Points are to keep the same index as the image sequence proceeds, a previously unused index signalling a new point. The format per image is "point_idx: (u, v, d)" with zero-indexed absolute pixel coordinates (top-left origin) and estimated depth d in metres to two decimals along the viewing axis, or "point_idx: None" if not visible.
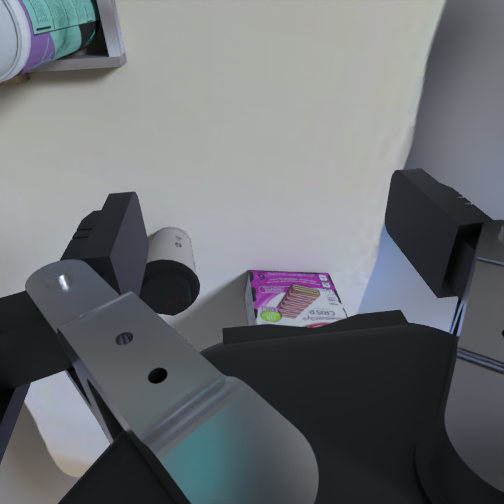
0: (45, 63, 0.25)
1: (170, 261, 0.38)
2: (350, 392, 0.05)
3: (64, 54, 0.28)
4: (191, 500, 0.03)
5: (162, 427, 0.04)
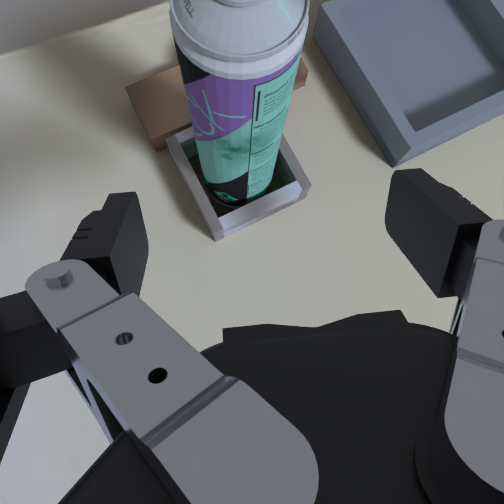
0: (204, 130, 0.20)
1: None
2: (350, 392, 0.05)
3: (213, 160, 0.23)
4: (191, 500, 0.03)
5: (162, 428, 0.04)
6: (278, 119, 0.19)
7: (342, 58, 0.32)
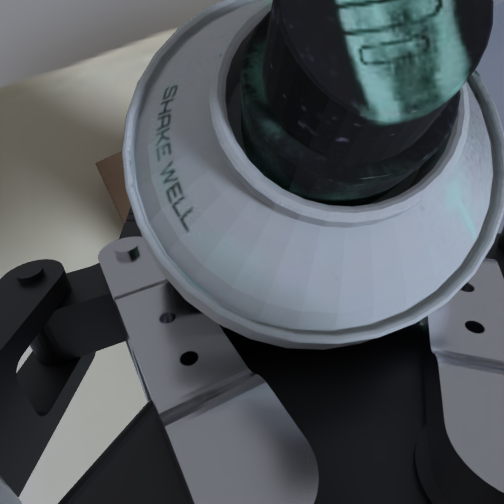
0: None
1: None
2: (350, 392, 0.05)
3: None
4: (191, 500, 0.03)
5: (180, 408, 0.04)
6: None
7: None
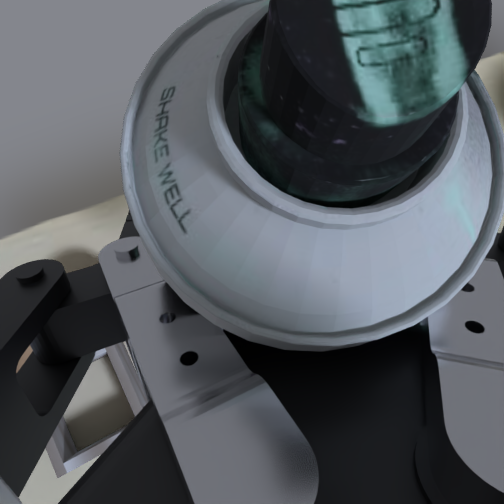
0: None
1: None
2: (350, 392, 0.05)
3: None
4: (191, 500, 0.03)
5: (180, 408, 0.04)
6: None
7: None
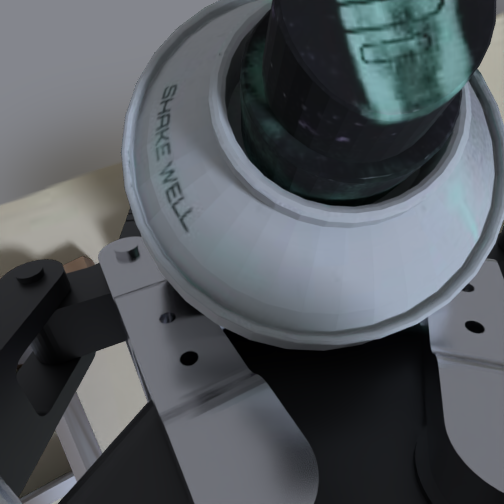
0: None
1: None
2: (350, 392, 0.05)
3: None
4: (191, 500, 0.03)
5: (180, 408, 0.04)
6: None
7: None
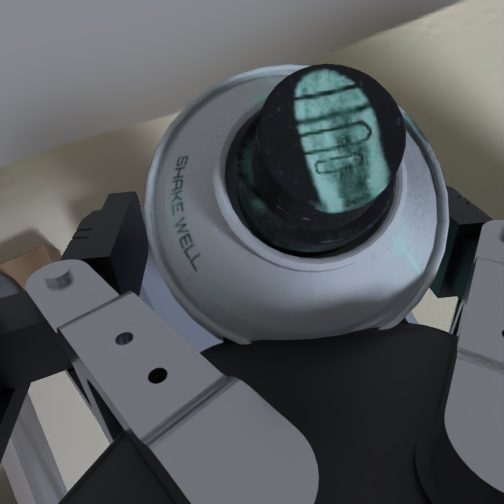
0: None
1: None
2: (350, 392, 0.05)
3: None
4: (191, 500, 0.03)
5: (162, 427, 0.04)
6: None
7: None
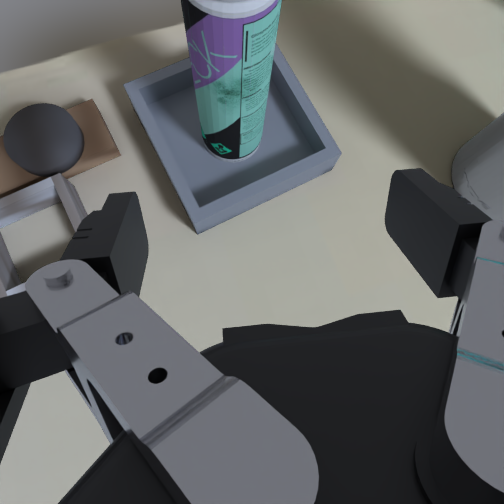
0: (202, 74, 0.24)
1: None
2: (350, 392, 0.05)
3: (210, 106, 0.27)
4: (191, 500, 0.03)
5: (162, 427, 0.04)
6: (264, 63, 0.23)
7: (147, 133, 0.34)
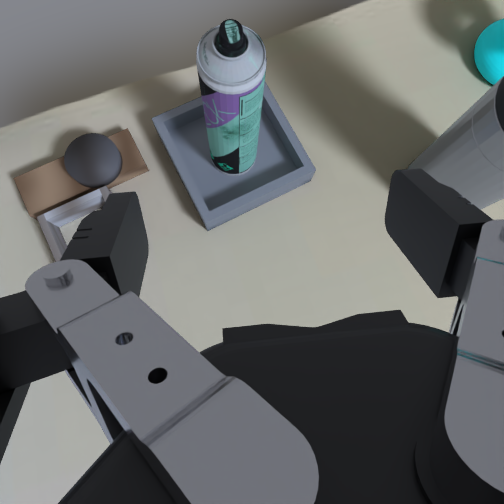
0: (212, 121, 0.35)
1: None
2: (350, 392, 0.05)
3: (217, 140, 0.38)
4: (191, 500, 0.03)
5: (162, 427, 0.04)
6: (254, 114, 0.34)
7: (169, 154, 0.45)
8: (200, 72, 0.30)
